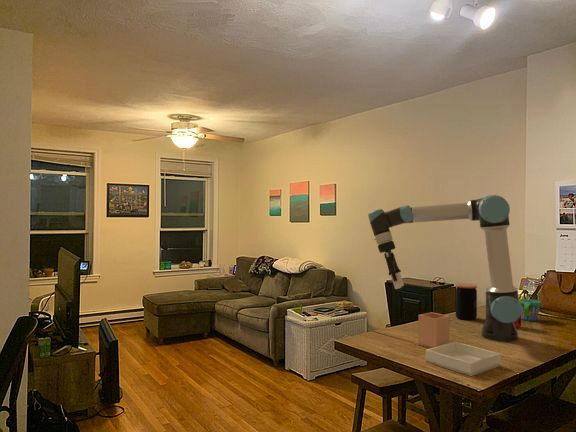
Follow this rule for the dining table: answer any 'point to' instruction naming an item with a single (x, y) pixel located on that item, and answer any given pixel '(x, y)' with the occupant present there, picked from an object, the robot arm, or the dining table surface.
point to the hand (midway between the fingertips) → (399, 287)
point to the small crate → (433, 330)
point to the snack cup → (530, 309)
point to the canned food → (518, 323)
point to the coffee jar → (466, 301)
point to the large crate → (462, 358)
